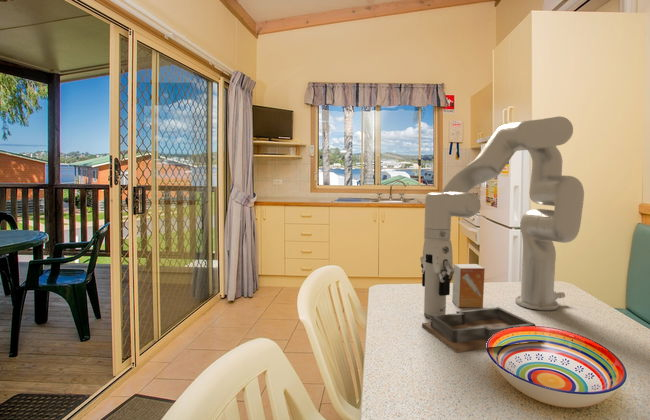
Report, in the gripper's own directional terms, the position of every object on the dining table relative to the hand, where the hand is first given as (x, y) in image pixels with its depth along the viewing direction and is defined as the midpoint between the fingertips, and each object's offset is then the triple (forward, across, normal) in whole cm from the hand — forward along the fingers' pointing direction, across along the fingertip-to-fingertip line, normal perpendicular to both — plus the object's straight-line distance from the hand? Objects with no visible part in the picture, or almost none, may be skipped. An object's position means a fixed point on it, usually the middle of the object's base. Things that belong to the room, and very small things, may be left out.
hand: (435, 290), depth 119 cm
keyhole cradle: (+8, -15, -5) cm, 18 cm away
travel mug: (+8, 0, 0) cm, 8 cm away
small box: (+8, +7, -16) cm, 19 cm away
